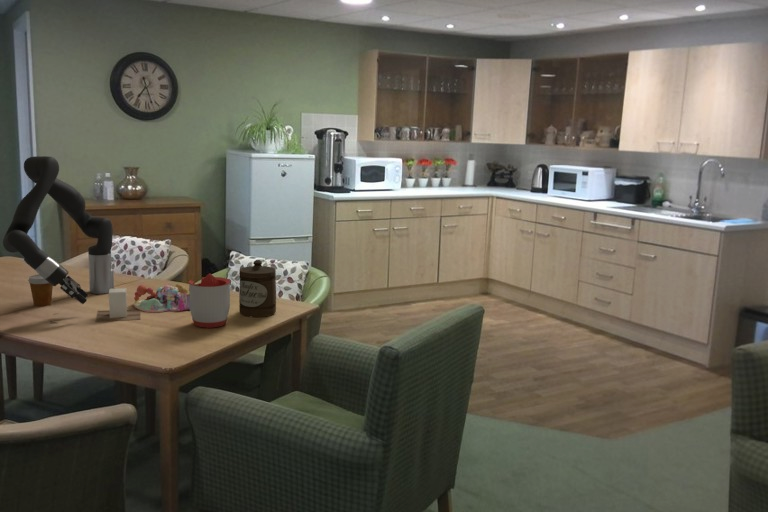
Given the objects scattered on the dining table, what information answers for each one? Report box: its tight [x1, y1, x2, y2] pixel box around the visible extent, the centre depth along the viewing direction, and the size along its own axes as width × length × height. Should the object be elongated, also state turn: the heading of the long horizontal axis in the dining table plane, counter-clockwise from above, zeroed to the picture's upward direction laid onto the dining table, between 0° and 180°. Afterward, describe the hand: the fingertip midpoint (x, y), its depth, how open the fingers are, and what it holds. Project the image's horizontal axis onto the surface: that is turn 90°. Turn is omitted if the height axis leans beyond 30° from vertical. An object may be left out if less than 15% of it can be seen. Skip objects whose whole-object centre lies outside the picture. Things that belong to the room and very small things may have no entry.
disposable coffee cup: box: [27, 274, 54, 307], centre depth 286 cm, size 10×10×12 cm
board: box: [95, 308, 141, 323], centre depth 275 cm, size 16×16×1 cm
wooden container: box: [238, 259, 277, 318], centre depth 287 cm, size 15×15×22 cm
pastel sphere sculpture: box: [133, 283, 190, 314], centre depth 292 cm, size 25×24×9 cm
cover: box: [108, 287, 128, 318], centre depth 274 cm, size 6×6×10 cm
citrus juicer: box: [188, 273, 232, 329], centre depth 269 cm, size 16×17×20 cm
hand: (85, 299), depth 270 cm, fingers open, 8 cm apart
